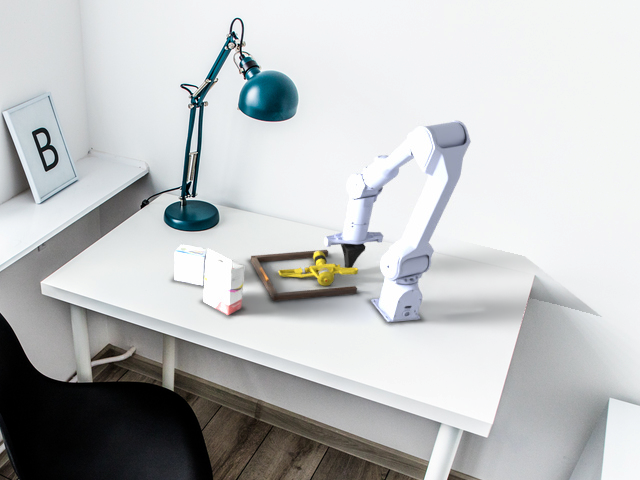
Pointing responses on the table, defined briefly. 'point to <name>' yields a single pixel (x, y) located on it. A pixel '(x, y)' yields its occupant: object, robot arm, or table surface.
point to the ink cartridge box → (223, 283)
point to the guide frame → (295, 294)
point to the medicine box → (190, 264)
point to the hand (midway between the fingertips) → (347, 267)
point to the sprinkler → (319, 270)
